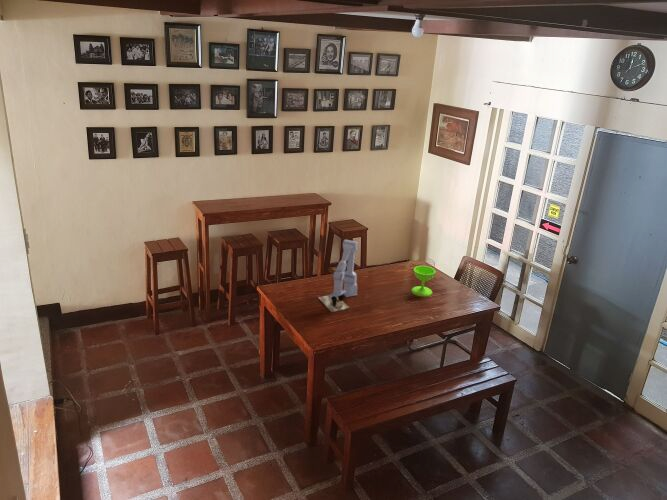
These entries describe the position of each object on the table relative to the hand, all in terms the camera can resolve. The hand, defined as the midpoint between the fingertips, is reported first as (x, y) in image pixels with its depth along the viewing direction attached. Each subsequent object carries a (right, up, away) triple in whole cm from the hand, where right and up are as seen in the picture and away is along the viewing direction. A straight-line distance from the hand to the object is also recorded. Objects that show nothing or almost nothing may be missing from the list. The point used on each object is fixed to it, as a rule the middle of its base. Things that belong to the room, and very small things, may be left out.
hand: (337, 304), depth 372 cm
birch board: (-3, 0, +6) cm, 6 cm away
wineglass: (+65, +6, +30) cm, 72 cm away
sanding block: (0, -1, +1) cm, 1 cm away
